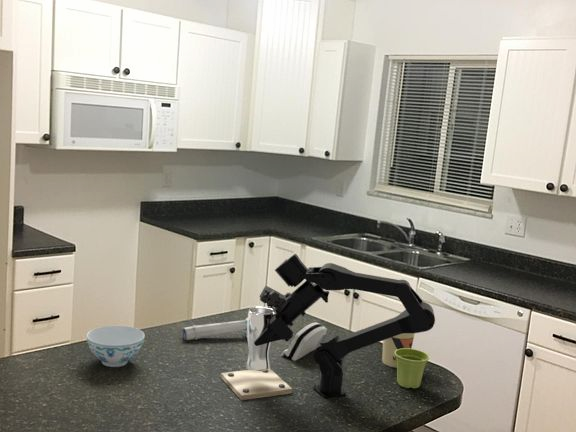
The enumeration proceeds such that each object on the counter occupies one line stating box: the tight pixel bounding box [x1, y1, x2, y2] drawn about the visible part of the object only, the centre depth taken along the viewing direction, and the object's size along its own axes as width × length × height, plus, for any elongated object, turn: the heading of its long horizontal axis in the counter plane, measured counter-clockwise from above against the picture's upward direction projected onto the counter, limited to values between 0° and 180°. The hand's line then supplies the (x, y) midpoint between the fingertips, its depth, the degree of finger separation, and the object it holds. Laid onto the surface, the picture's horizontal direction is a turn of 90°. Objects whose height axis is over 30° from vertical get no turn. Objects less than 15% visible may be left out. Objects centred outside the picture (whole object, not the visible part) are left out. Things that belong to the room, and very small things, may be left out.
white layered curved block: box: [280, 321, 328, 362], centre depth 191 cm, size 17×5×10 cm, turn 150°
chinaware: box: [86, 325, 146, 368], centre depth 171 cm, size 15×15×8 cm
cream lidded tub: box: [381, 333, 415, 369], centre depth 189 cm, size 9×9×12 cm
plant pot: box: [395, 348, 430, 389], centre depth 174 cm, size 9×9×9 cm
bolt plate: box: [220, 367, 293, 401], centre depth 165 cm, size 14×14×2 cm
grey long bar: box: [181, 317, 248, 342], centre depth 198 cm, size 5×7×25 cm
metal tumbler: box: [246, 306, 274, 371], centre depth 163 cm, size 7×7×15 cm
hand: (254, 339), depth 163 cm, fingers closed on metal tumbler, 6 cm apart
